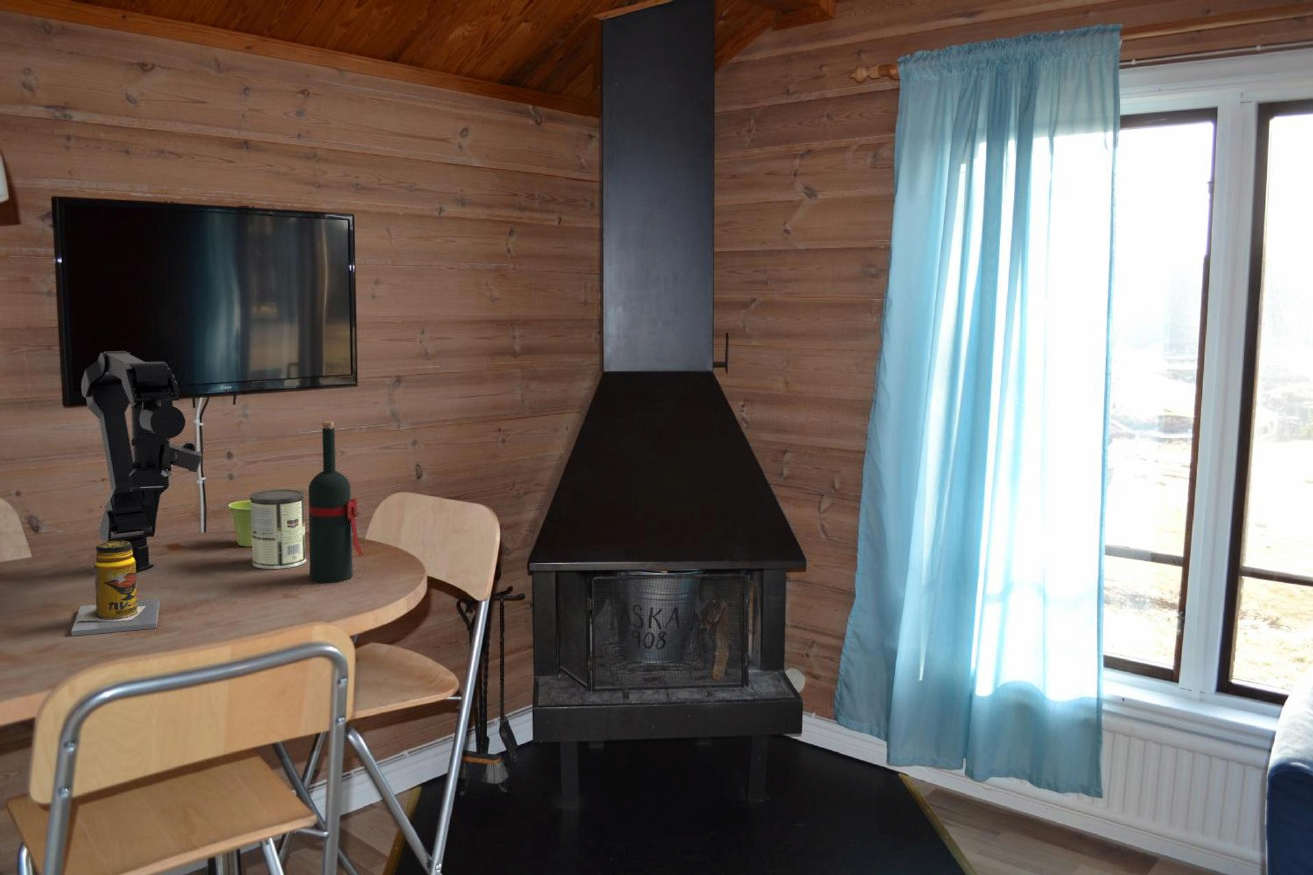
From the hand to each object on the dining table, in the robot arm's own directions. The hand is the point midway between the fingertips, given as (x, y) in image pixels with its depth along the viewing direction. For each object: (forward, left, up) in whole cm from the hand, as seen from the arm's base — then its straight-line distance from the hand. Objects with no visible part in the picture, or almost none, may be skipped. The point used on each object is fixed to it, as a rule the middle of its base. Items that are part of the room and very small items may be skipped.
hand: (153, 517), depth 190 cm
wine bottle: (+26, +18, -13) cm, 34 cm away
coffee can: (+9, +23, -13) cm, 28 cm away
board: (+8, -17, -13) cm, 23 cm away
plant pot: (-6, +34, -13) cm, 37 cm away
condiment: (+7, -17, -12) cm, 23 cm away
